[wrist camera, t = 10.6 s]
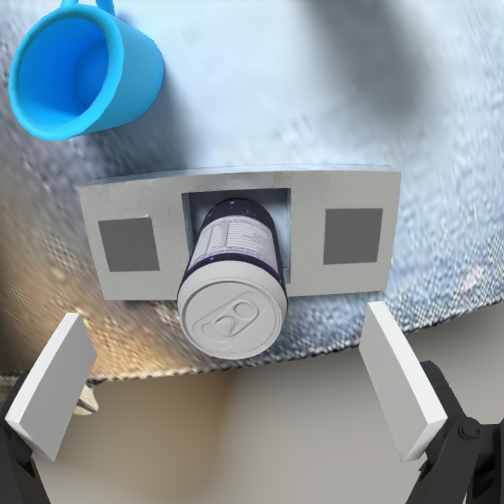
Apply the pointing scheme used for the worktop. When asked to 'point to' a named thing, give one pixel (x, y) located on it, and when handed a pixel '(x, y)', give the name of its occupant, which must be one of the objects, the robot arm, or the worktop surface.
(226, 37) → the worktop surface
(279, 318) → the beverage can
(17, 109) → the mug
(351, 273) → the white compartment tray
